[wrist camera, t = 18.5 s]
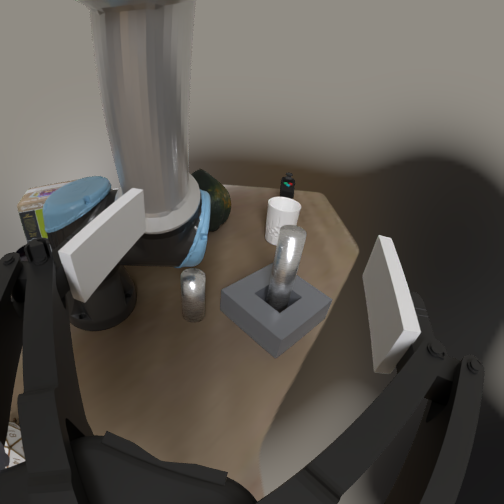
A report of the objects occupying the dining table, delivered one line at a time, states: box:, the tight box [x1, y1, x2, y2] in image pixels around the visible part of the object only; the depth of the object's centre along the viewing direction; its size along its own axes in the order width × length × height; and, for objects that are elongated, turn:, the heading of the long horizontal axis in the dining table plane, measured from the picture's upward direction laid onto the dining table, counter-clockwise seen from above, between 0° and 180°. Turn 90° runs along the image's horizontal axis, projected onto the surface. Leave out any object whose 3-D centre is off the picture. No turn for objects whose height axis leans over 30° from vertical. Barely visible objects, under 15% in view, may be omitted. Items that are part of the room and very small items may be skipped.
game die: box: [4, 418, 25, 469], centre depth 21 cm, size 9×8×10 cm
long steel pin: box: [266, 225, 306, 313], centre depth 49 cm, size 4×4×18 cm
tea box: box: [17, 180, 76, 251], centre depth 59 cm, size 15×10×15 cm, turn 110°
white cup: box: [265, 197, 301, 246], centre depth 73 cm, size 8×8×10 cm
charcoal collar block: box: [220, 262, 332, 358], centre depth 53 cm, size 14×14×5 cm
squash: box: [191, 169, 231, 231], centre depth 75 cm, size 14×15×15 cm
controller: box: [280, 173, 295, 199], centre depth 88 cm, size 4×12×10 cm, turn 173°
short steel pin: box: [181, 268, 205, 322], centre depth 50 cm, size 4×4×9 cm
